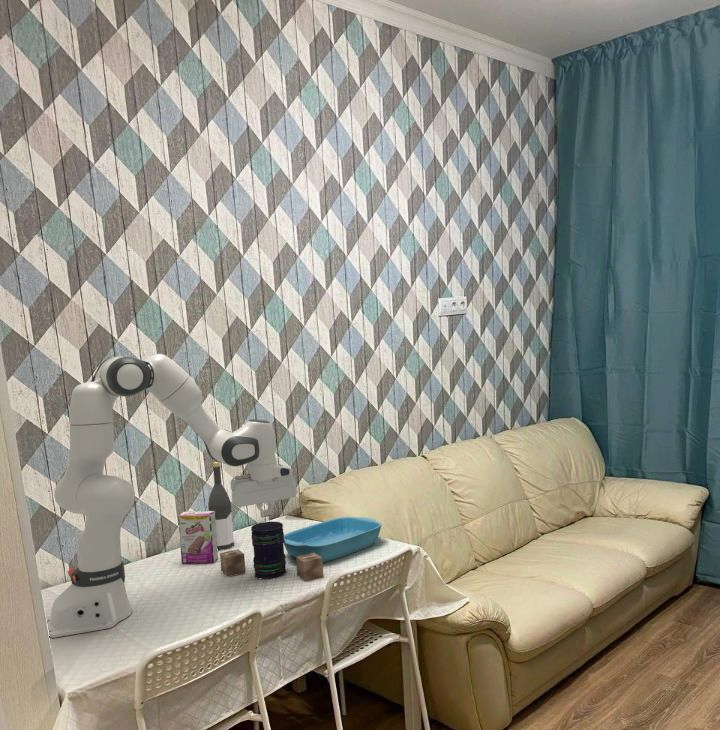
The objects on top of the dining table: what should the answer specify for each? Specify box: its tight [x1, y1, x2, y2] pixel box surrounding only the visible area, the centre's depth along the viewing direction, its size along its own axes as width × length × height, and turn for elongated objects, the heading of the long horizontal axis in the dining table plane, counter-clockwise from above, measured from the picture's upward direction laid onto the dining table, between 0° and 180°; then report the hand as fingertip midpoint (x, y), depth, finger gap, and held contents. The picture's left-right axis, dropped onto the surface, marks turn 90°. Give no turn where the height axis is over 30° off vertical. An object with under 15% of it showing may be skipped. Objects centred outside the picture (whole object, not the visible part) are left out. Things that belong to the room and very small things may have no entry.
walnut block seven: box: [219, 548, 246, 577], centre depth 220 cm, size 6×6×6 cm
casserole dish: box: [283, 516, 382, 563], centre depth 236 cm, size 37×22×7 cm, turn 135°
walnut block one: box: [295, 553, 324, 583], centre depth 211 cm, size 6×6×6 cm
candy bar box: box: [177, 510, 219, 565], centre depth 232 cm, size 11×5×16 cm, turn 84°
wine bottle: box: [207, 461, 235, 550], centre depth 246 cm, size 8×8×30 cm
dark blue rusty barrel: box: [250, 521, 287, 580], centre depth 216 cm, size 10×10×15 cm
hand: (266, 516), depth 215 cm, fingers closed
